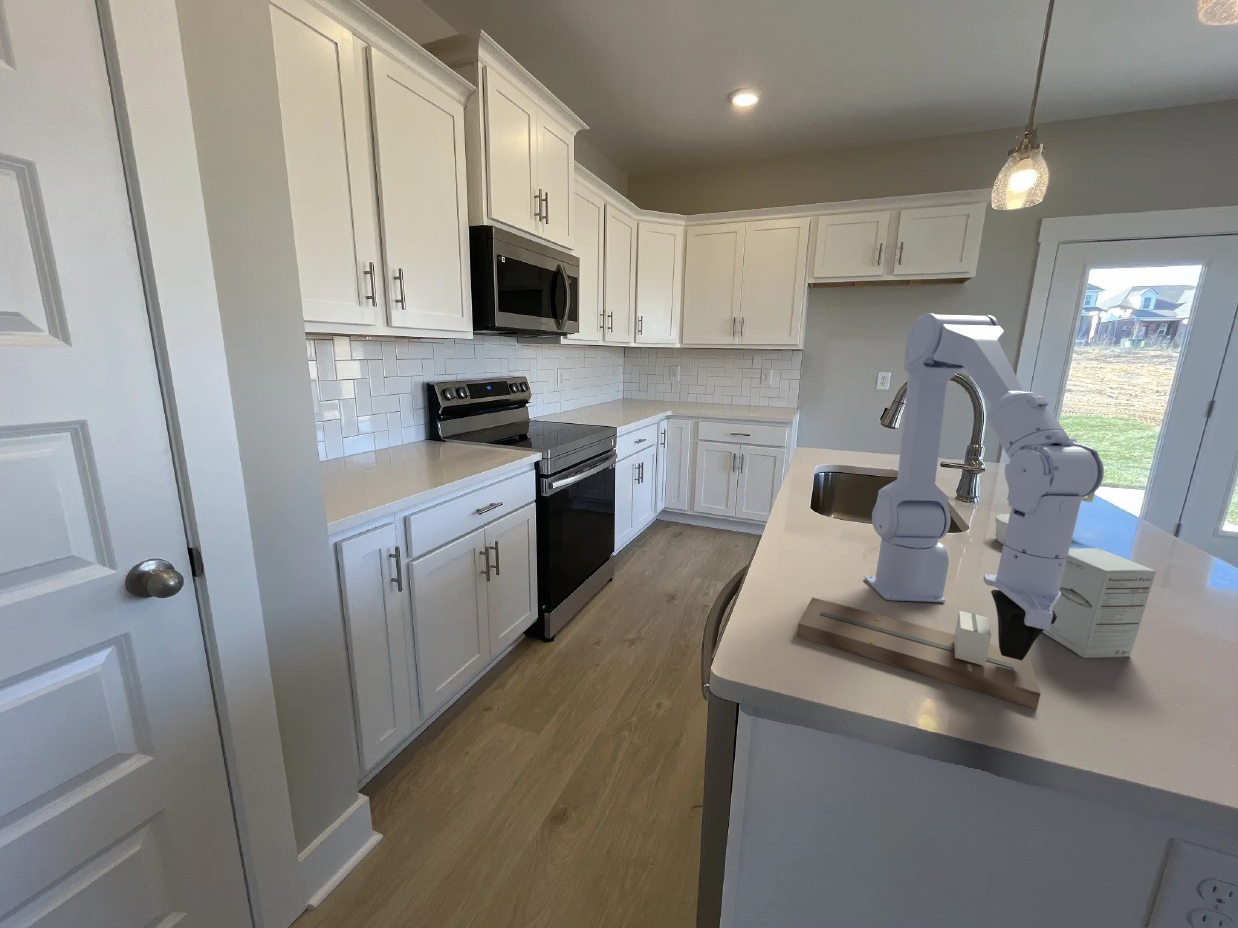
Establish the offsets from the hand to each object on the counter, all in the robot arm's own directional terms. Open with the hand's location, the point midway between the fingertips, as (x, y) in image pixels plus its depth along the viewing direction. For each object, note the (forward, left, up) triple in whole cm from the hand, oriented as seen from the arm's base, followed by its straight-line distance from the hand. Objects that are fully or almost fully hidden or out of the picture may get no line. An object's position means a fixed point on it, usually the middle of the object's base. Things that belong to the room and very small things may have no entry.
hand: (1010, 655), depth 61 cm
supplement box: (-17, -9, -4) cm, 20 cm away
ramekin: (-37, -47, -4) cm, 60 cm away
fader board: (+9, -5, -3) cm, 11 cm away
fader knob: (+3, -2, -1) cm, 4 cm away
